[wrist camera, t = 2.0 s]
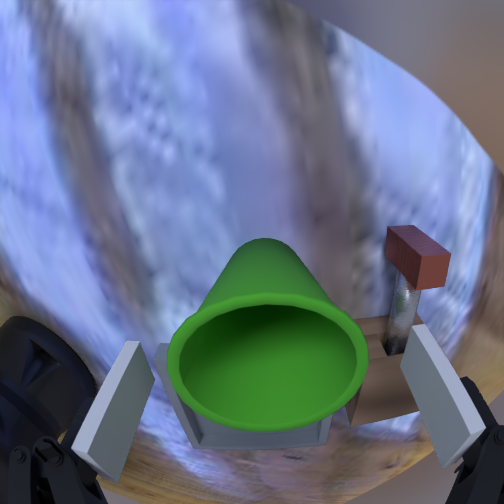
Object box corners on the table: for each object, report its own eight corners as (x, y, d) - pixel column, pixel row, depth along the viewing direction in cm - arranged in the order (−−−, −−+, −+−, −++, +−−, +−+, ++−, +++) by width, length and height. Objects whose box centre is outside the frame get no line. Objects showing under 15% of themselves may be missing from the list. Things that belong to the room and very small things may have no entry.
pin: (387, 226, 19) (421, 256, 14) (413, 225, 19) (451, 253, 14) (372, 339, 23) (391, 382, 18) (394, 335, 23) (416, 376, 18)
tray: (195, 434, 31) (193, 448, 29) (159, 343, 25) (153, 360, 23) (323, 429, 31) (325, 444, 28) (337, 335, 24) (343, 352, 22)
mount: (344, 320, 24) (364, 374, 18) (415, 311, 23) (446, 356, 17) (337, 375, 26) (350, 426, 21) (400, 365, 26) (421, 410, 20)
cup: (328, 308, 23) (362, 418, 13) (219, 324, 24) (199, 436, 14) (318, 200, 20) (376, 275, 10) (190, 222, 21) (133, 310, 10)
